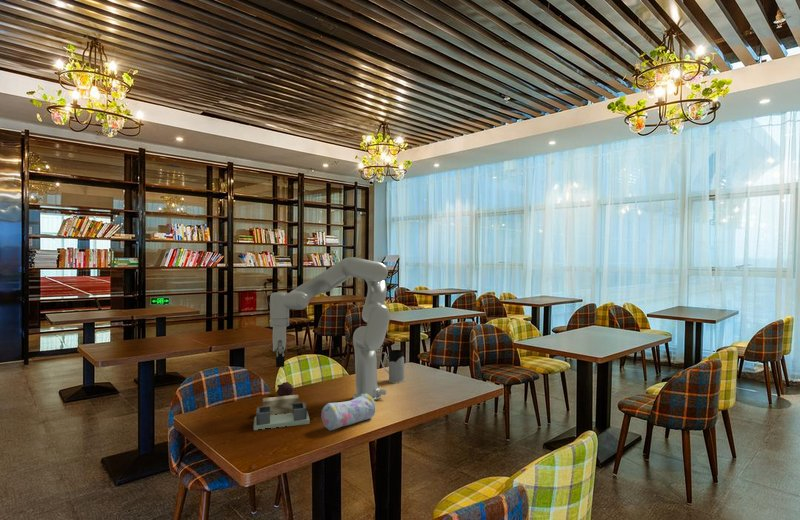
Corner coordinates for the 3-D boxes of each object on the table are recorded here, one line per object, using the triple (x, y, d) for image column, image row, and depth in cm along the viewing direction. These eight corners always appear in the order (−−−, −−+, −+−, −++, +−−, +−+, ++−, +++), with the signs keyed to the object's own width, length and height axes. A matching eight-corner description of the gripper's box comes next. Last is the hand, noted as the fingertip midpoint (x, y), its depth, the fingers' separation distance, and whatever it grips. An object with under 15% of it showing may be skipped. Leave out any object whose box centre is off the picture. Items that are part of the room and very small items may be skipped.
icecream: (268, 382, 213) (283, 391, 201) (283, 375, 217) (298, 383, 206) (272, 395, 214) (287, 405, 203) (286, 388, 219) (301, 397, 207)
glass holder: (399, 383, 227) (398, 353, 227) (376, 380, 235) (375, 351, 235) (408, 379, 235) (407, 350, 235) (385, 376, 242) (385, 348, 242)
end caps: (305, 412, 182) (304, 401, 182) (306, 419, 173) (306, 408, 173) (257, 417, 177) (256, 407, 177) (256, 425, 168) (256, 414, 168)
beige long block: (298, 408, 192) (297, 394, 192) (299, 412, 187) (298, 397, 187) (263, 413, 188) (262, 398, 188) (263, 416, 183) (262, 401, 183)
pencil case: (363, 414, 182) (362, 390, 182) (378, 419, 176) (377, 394, 176) (319, 429, 167) (318, 402, 167) (334, 434, 161) (333, 407, 161)
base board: (307, 414, 183) (307, 411, 183) (309, 423, 172) (309, 419, 172) (254, 420, 178) (254, 417, 178) (253, 430, 167) (253, 426, 167)
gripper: (270, 320, 196) (270, 361, 196) (270, 325, 179) (270, 369, 179) (288, 320, 198) (288, 360, 198) (289, 324, 181) (290, 368, 181)
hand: (280, 364), depth 188 cm, fingers open, 9 cm apart
